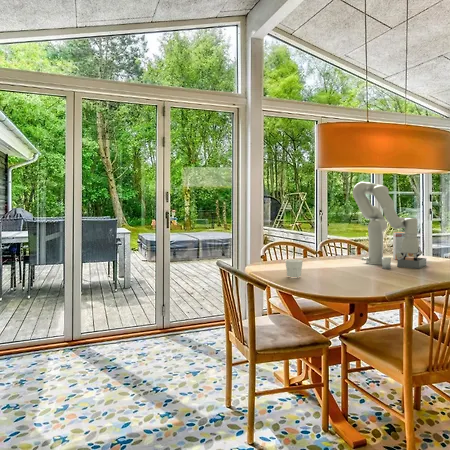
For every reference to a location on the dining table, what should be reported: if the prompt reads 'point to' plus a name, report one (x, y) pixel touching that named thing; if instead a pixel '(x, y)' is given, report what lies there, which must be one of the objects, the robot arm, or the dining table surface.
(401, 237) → the cracker box
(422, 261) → the tote
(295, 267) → the cup
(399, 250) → the robot arm
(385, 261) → the metal cylinder
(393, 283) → the dining table surface
